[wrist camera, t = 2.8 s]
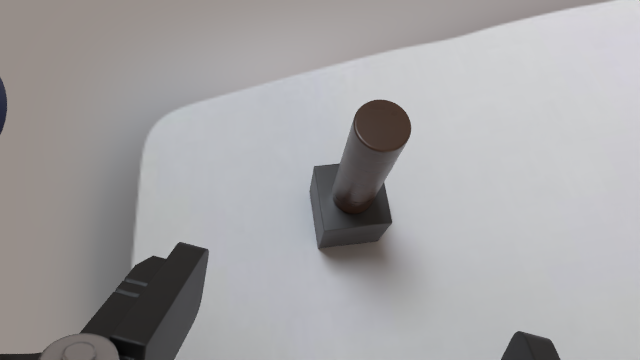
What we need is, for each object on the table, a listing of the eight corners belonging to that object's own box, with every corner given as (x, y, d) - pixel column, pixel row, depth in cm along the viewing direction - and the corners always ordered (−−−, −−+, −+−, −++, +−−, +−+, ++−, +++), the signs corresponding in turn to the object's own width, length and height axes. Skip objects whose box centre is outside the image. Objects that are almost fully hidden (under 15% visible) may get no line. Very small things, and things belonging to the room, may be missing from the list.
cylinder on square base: (317, 248, 29) (343, 174, 18) (309, 190, 30) (328, 86, 19) (377, 241, 29) (439, 163, 18) (367, 184, 31) (418, 79, 19)
